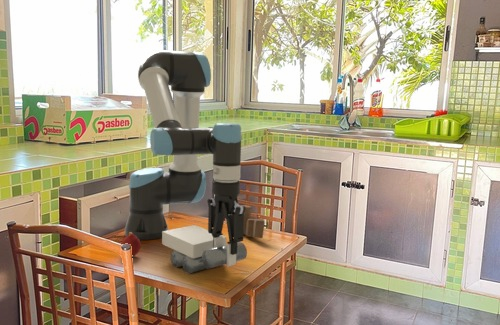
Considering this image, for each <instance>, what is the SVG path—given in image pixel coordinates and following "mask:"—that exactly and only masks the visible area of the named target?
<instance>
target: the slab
mask: <svg viewBox="0 0 500 325" xmlns="http://www.w3.org/2000/svg"><path fill="white" fill-rule="evenodd" d="M221 236H223V246H225V245H227V236H224V235H221ZM161 244H162V245H163V246H166V248H170V249H172V250H173V251H174V250H176V251H178V252H180V253H182V254H185V255H187V256H189V257H191V258H197V257H201V256H202V254H203V252H204V251H205V250H208V249H212V248H214V247H213V236H212V234H211V233H209V232H208V229H206V228H203V227H200V226H198V225H195V224H193V225H188V226H183V227H178V228H173V229H168V230H167V231H162V237H161Z"/></svg>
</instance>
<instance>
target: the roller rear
mask: <svg viewBox="0 0 500 325" xmlns="http://www.w3.org/2000/svg"><path fill="white" fill-rule="evenodd" d="M185 256H187V255H185V254H182V253H180V252H178V251H176V250H174V249H173V250H172V251H171V253H170V263H171V265H172V266H173V267H175V268H180V267H183V265H182V260H183V258H184V257H185Z"/></svg>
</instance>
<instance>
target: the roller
mask: <svg viewBox="0 0 500 325" xmlns="http://www.w3.org/2000/svg"><path fill="white" fill-rule="evenodd" d="M247 254H248V251H247V246H246V245H245V244H244V242H242V241H241V242H238V244H237V254H236V262H239V261H243V260H245V259H246V258H247ZM202 261H203V264H204V265H205V267H206V268H207V269H212V268H216V267H220V266H223V265H227V244H226V245H225V246H221V247H217V248H212V249H208V250H205V251H204V252H203V254H202Z"/></svg>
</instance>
